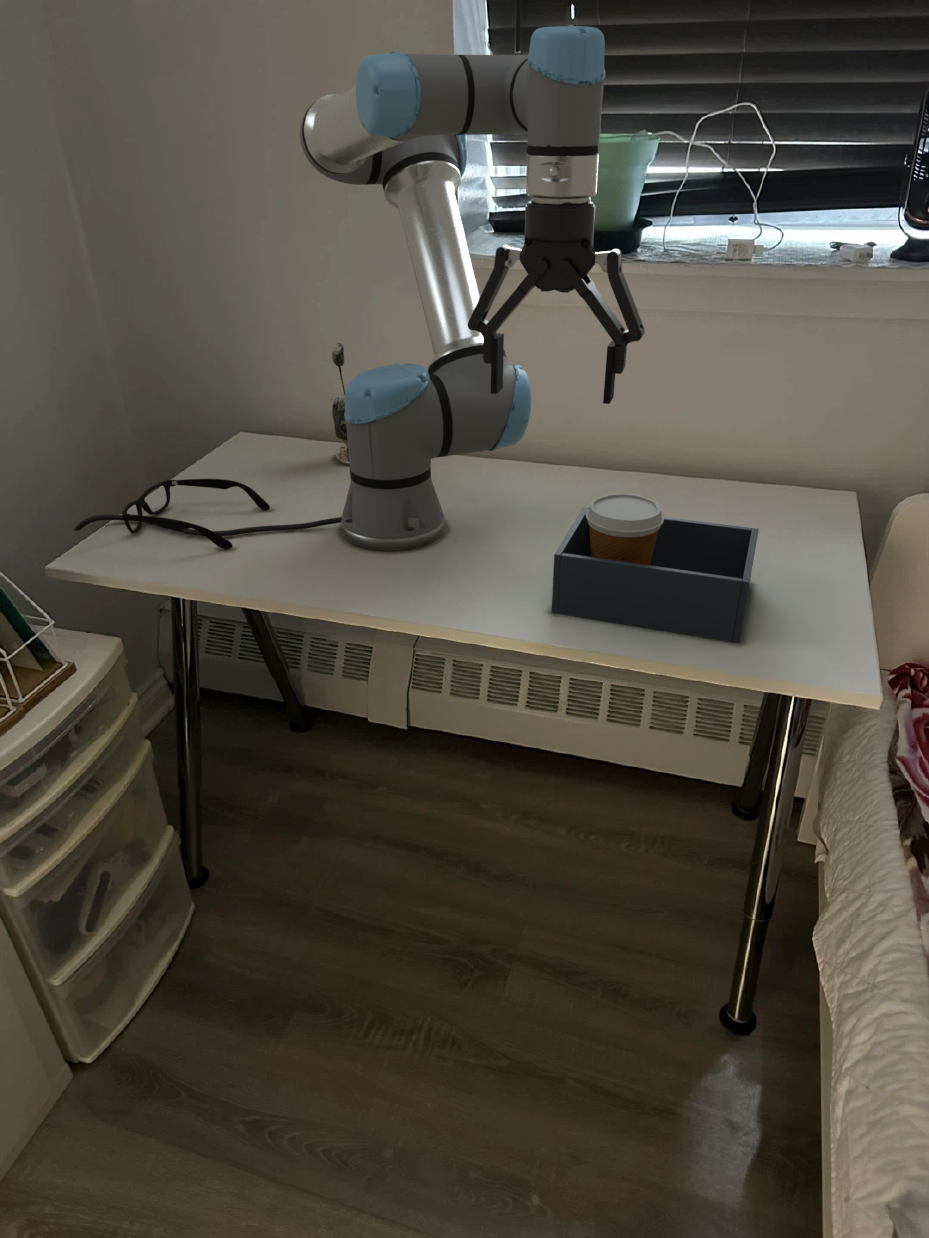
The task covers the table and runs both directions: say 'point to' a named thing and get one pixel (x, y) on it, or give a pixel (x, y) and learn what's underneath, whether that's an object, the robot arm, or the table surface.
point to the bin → (661, 579)
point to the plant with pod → (340, 408)
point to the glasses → (182, 525)
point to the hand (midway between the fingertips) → (551, 396)
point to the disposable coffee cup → (624, 527)
